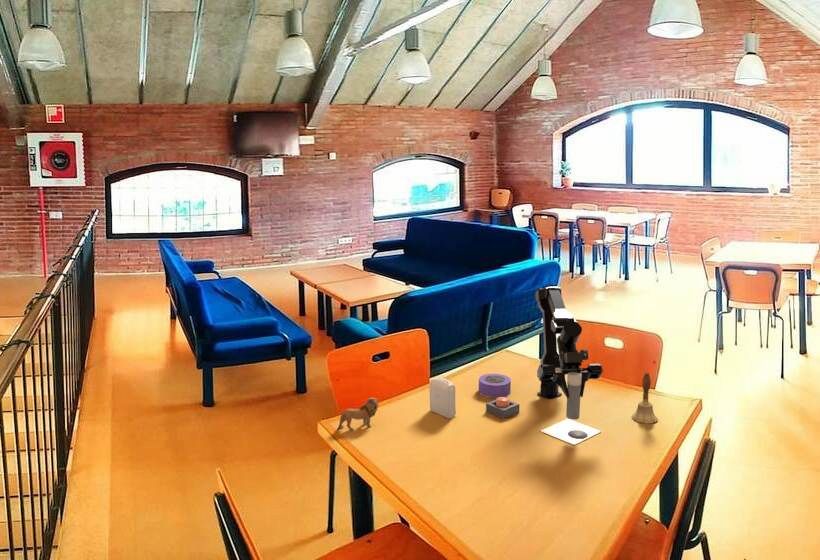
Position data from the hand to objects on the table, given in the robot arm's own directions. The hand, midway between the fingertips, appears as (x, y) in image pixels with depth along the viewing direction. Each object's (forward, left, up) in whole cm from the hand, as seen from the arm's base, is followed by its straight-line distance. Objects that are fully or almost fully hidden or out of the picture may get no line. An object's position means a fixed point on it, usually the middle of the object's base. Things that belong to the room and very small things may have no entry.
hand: (574, 397), depth 206 cm
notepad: (-3, -3, -13) cm, 14 cm away
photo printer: (+18, -41, -14) cm, 47 cm away
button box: (+2, -28, -13) cm, 31 cm away
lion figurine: (+45, -52, -14) cm, 70 cm away
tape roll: (-10, -43, -14) cm, 46 cm away
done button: (+2, -28, -13) cm, 31 cm away
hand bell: (-29, +7, -14) cm, 33 cm away
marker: (-1, -1, -7) cm, 7 cm away
